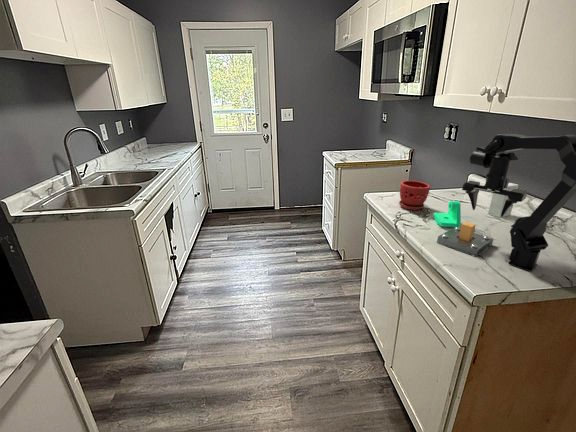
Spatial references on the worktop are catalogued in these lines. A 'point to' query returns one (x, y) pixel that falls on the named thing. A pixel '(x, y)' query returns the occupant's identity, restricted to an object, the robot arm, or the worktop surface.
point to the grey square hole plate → (465, 242)
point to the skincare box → (500, 202)
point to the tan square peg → (467, 231)
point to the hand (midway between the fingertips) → (487, 213)
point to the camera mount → (450, 215)
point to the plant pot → (413, 194)
